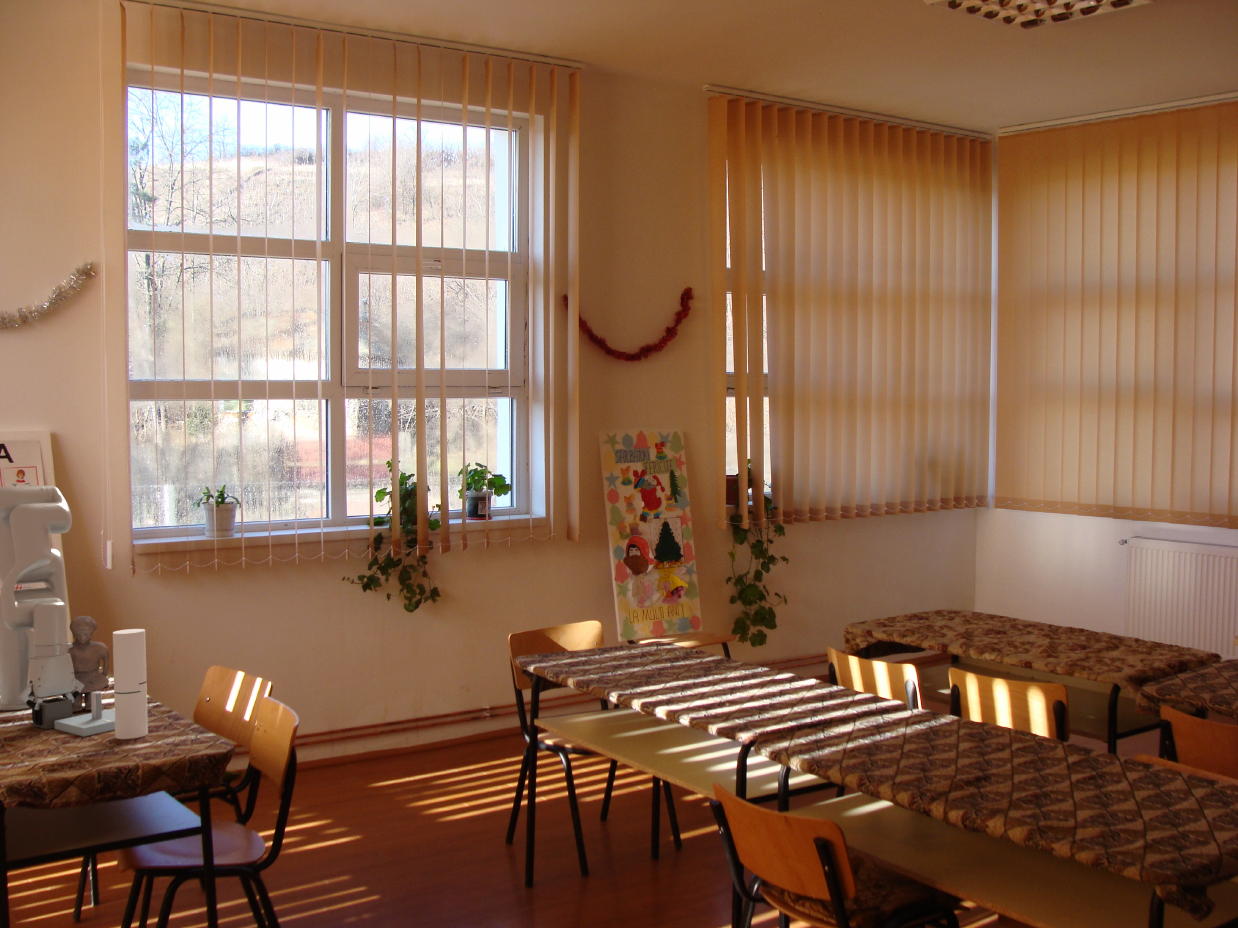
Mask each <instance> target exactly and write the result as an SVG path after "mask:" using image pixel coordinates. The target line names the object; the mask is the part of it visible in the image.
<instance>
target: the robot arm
mask: <svg viewBox="0 0 1238 928" xmlns="http://www.w3.org/2000/svg"><path fill="white" fill-rule="evenodd" d="M72 524H73V517H72V512H71V509H70V506H69V504H68V502H67V500H66V499H65V496H63V493H62V492H61V490H59V488H58V487H56V486H55V485H50V484H49V485H47V484H46V485H44V484H43V485H10V486H9V485H8V486H2V487H0V581H1V582H2V585H1V589H0V711H15V710H16V711H17V710H19V711H20V710H24V709H25V710H26V709H31V721H32V723H33V722H34V724H35V725H39V726H40V725H42V709H40V706H41V704H42V701H43V700H45V699H48V698H53V697H58V696H61V697H62V698H67V699H71V700H72V715H73V702H74V701H75V699H76V697H77V696H78V695H79V693H80V692H81V690H82V689H83V688H84V684H82V683H81V682H80V681H78V680H77V679H75V677H74V668H73V663H72V659H71V655H70V654H68V652H69V651H68V649H70V648H72V647H73V644H72V642H69V641H68V616H67V615H68V614H67V613H68V612H67V607H68V606H67V605H68V604H67V586H66V585H67V584H66V571H65V563H64V562H65V561H64V557H63V555H62V553H61V552H60V550H59V549H56V548H55V547H54V548H53V547H52V546H51V540H50V539H51V538H50V535H59V534H65V533H68V532H69V531H70V530H71V528H72ZM41 583H42V584H44V585H45V586H44V587H35V588H31V587H30V588H23V589H15V588H16V587H15V586H16V585H27V584H28V585H29V584H41Z"/></svg>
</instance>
